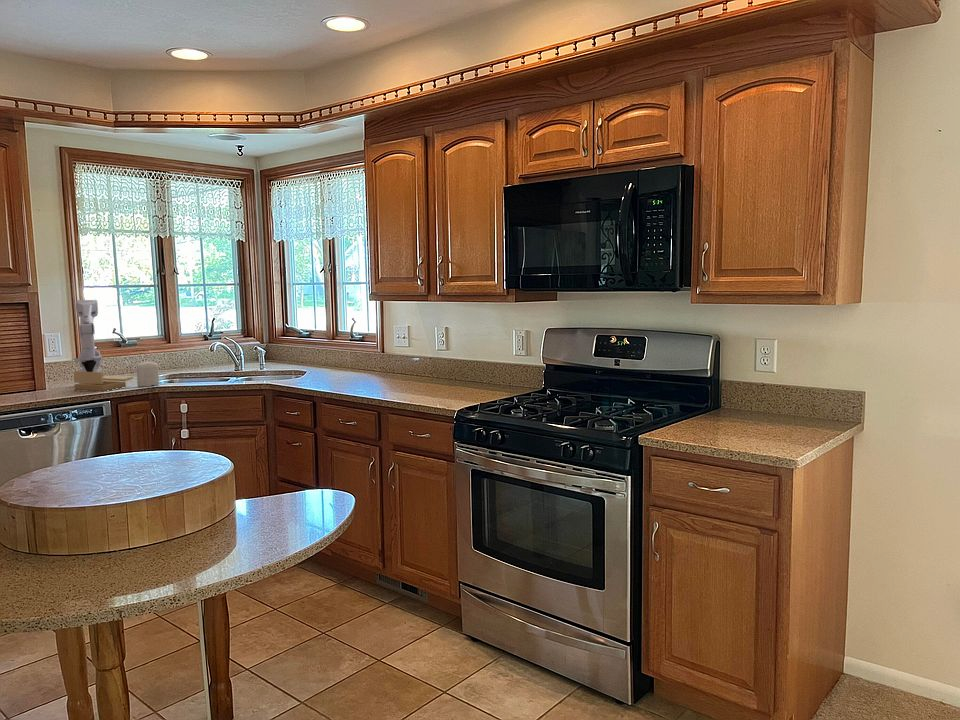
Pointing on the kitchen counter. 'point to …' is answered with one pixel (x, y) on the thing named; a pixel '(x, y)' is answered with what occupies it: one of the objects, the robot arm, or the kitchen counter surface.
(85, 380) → the front flap
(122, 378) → the back flap
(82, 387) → the carton
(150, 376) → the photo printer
